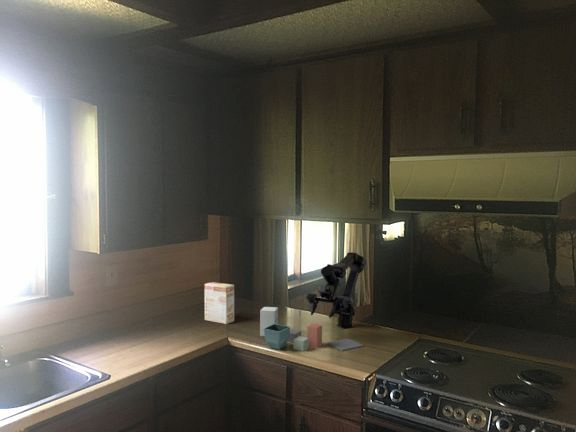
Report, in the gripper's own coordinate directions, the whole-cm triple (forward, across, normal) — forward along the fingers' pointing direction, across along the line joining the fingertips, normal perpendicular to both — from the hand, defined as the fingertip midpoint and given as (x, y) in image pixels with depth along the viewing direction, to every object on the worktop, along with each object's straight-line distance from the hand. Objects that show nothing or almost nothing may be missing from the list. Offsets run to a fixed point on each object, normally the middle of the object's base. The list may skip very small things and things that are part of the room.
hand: (320, 316), depth 229 cm
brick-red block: (+12, 0, +4) cm, 13 cm away
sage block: (+17, -3, 0) cm, 18 cm away
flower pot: (+21, -13, -3) cm, 24 cm away
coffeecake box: (+6, -61, +11) cm, 62 cm away
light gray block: (+12, -11, +5) cm, 17 cm away
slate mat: (+7, +12, +10) cm, 17 cm away
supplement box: (+11, -26, +6) cm, 29 cm away
